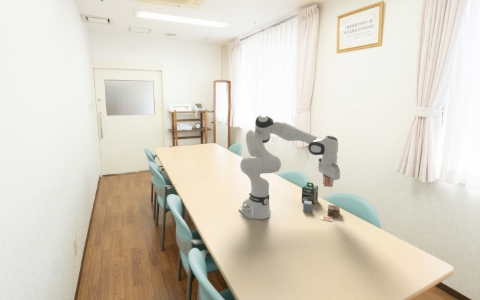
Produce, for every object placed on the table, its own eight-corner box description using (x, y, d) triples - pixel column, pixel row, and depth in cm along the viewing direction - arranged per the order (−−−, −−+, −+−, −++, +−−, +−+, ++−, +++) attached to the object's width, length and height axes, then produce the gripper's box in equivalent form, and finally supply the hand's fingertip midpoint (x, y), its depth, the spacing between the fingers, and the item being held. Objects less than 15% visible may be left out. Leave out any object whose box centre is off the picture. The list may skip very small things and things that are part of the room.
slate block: (303, 211, 177) (303, 203, 175) (303, 208, 181) (304, 200, 180) (310, 212, 175) (311, 204, 174) (311, 209, 180) (311, 201, 178)
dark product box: (317, 200, 195) (319, 181, 192) (313, 205, 187) (314, 185, 184) (305, 198, 200) (306, 179, 197) (301, 201, 193) (302, 182, 189)
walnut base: (327, 216, 171) (328, 208, 170) (327, 211, 177) (328, 204, 176) (339, 217, 169) (339, 210, 168) (338, 213, 175) (339, 206, 174)
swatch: (320, 219, 165) (320, 219, 165) (320, 215, 171) (321, 215, 170) (332, 221, 163) (332, 220, 163) (332, 217, 168) (332, 216, 168)
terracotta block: (324, 186, 169) (325, 177, 168) (323, 183, 174) (323, 175, 173) (332, 186, 169) (333, 177, 167) (330, 184, 173) (331, 175, 172)
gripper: (343, 165, 159) (341, 187, 162) (325, 157, 178) (324, 177, 181) (334, 165, 158) (332, 187, 160) (317, 158, 177) (315, 177, 180)
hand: (327, 182), depth 171 cm, fingers closed on terracotta block, 6 cm apart
